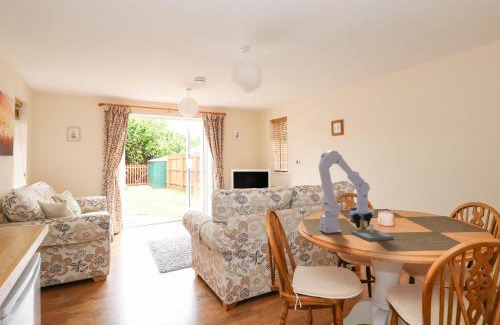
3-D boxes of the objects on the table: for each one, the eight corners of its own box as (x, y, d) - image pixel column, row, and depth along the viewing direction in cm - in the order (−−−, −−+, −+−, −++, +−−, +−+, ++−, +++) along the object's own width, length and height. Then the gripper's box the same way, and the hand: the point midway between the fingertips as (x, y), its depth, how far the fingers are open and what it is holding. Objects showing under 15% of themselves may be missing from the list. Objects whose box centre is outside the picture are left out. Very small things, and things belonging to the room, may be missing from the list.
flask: (349, 221, 177) (350, 204, 177) (350, 220, 180) (350, 204, 180) (365, 223, 173) (365, 205, 173) (365, 222, 176) (365, 205, 176)
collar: (361, 231, 153) (361, 222, 153) (355, 228, 158) (355, 220, 158) (369, 230, 155) (369, 221, 155) (363, 228, 160) (363, 219, 160)
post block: (368, 241, 134) (368, 228, 134) (351, 233, 148) (351, 222, 148) (393, 239, 138) (393, 227, 138) (374, 232, 151) (374, 220, 151)
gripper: (355, 204, 151) (355, 229, 151) (378, 203, 154) (378, 228, 154) (347, 202, 158) (347, 226, 158) (369, 201, 161) (369, 225, 161)
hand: (362, 227), depth 157 cm, fingers closed on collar, 5 cm apart
